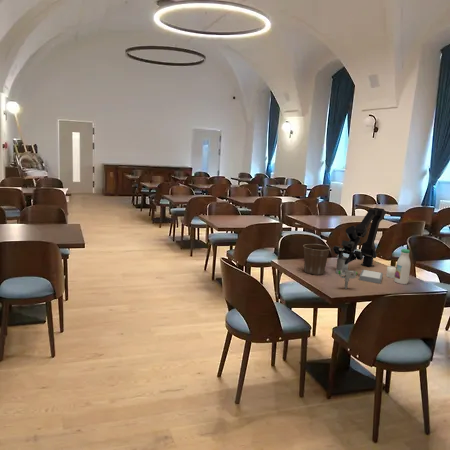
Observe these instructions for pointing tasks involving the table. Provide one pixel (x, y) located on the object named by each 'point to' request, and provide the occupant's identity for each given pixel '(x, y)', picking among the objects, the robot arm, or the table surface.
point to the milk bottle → (403, 267)
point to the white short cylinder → (391, 271)
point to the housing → (341, 264)
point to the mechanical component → (347, 276)
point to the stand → (371, 276)
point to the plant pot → (315, 258)
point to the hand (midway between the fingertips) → (341, 263)
